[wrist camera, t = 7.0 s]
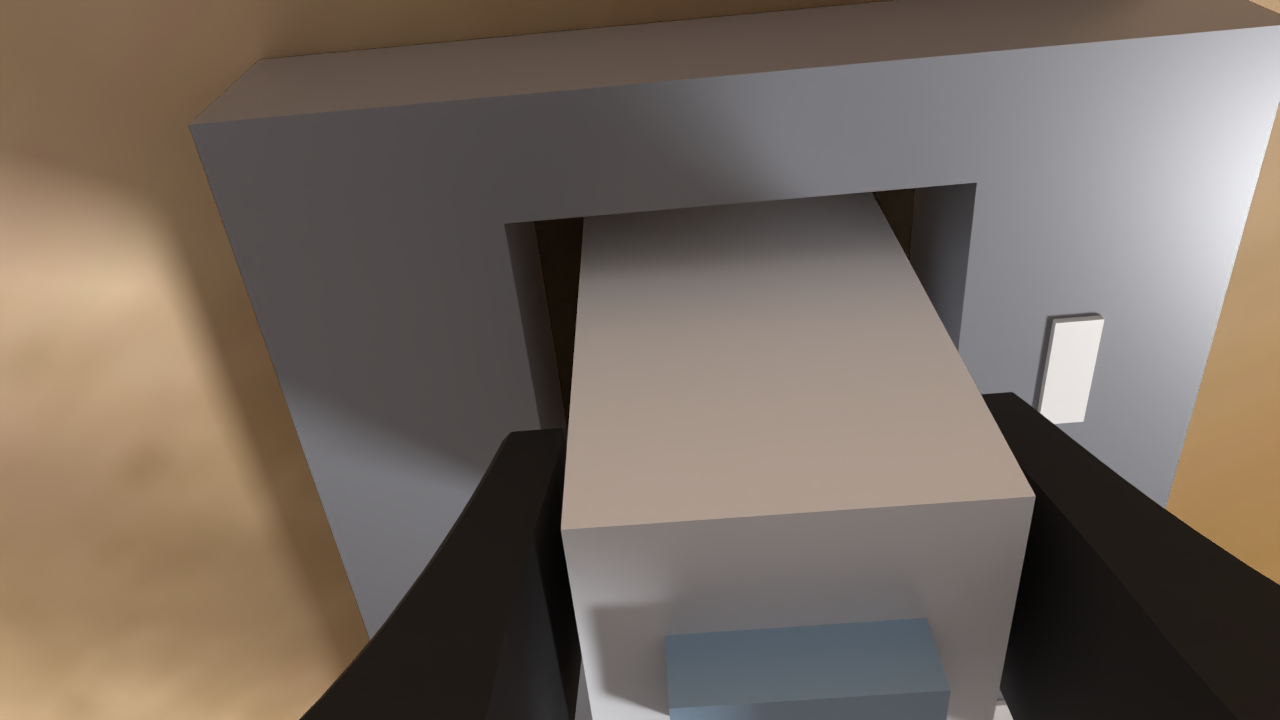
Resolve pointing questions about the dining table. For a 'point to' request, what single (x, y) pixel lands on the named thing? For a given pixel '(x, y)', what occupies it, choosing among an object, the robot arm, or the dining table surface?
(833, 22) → the port panel
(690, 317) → the plug
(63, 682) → the dining table surface
